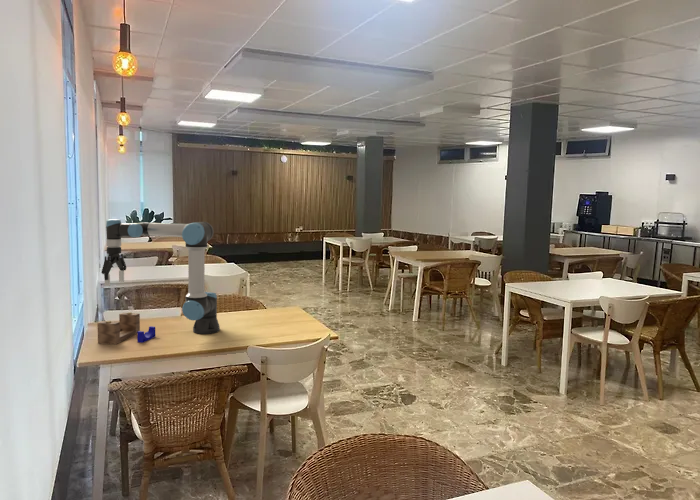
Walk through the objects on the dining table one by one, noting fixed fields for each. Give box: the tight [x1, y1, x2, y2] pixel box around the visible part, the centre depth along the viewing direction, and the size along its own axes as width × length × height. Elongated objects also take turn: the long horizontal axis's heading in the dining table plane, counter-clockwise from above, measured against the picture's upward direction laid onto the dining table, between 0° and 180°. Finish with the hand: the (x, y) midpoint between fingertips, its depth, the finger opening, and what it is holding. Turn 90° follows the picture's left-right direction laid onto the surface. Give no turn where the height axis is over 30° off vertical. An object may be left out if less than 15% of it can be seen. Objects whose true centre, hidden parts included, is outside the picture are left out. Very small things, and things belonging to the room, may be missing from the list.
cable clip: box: [136, 325, 156, 343], centre depth 277 cm, size 12×4×6 cm, turn 168°
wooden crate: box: [97, 311, 141, 345], centre depth 278 cm, size 10×24×12 cm, turn 173°
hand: (114, 283), depth 288 cm, fingers open, 13 cm apart
